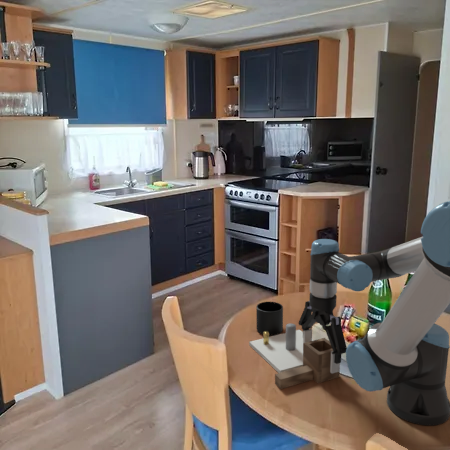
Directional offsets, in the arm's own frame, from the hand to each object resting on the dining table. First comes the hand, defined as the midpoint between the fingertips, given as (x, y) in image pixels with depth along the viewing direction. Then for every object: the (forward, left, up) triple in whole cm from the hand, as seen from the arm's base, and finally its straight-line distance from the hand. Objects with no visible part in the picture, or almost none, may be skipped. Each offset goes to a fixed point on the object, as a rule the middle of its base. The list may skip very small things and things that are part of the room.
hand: (320, 360), depth 131 cm
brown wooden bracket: (0, +5, -4) cm, 7 cm away
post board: (+15, +1, -4) cm, 15 cm away
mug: (+33, -1, -4) cm, 33 cm away
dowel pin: (+21, +7, -3) cm, 22 cm away
